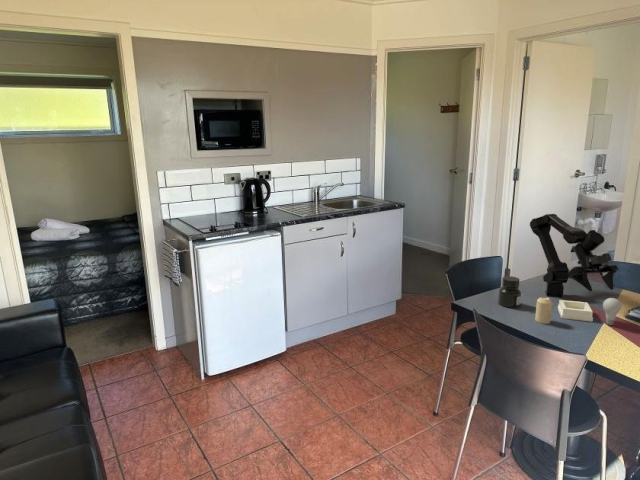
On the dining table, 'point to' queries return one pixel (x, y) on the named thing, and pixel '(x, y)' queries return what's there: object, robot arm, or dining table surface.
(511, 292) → the ink bottle
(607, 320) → the lightbulb
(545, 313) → the candle
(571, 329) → the dining table surface
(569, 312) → the socket
